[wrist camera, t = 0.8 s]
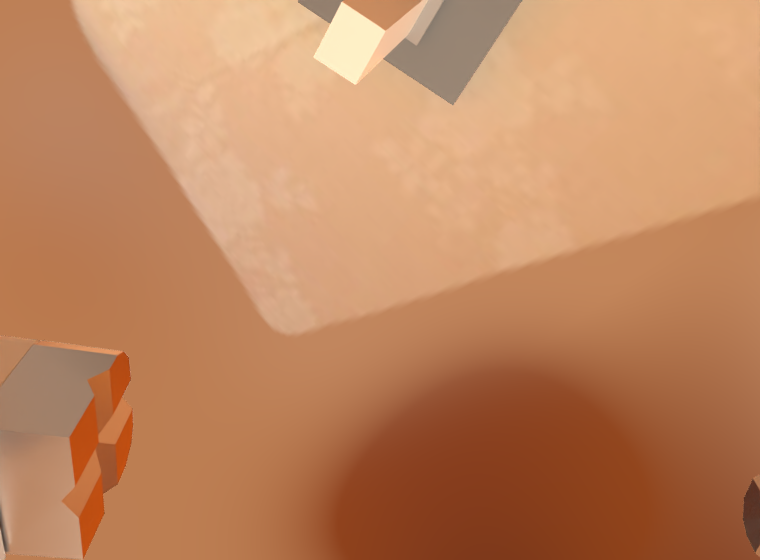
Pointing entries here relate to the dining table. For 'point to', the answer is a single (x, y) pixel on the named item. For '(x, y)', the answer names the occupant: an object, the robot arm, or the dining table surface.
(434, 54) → the breaker panel
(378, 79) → the dining table surface
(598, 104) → the dining table surface
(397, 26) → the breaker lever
